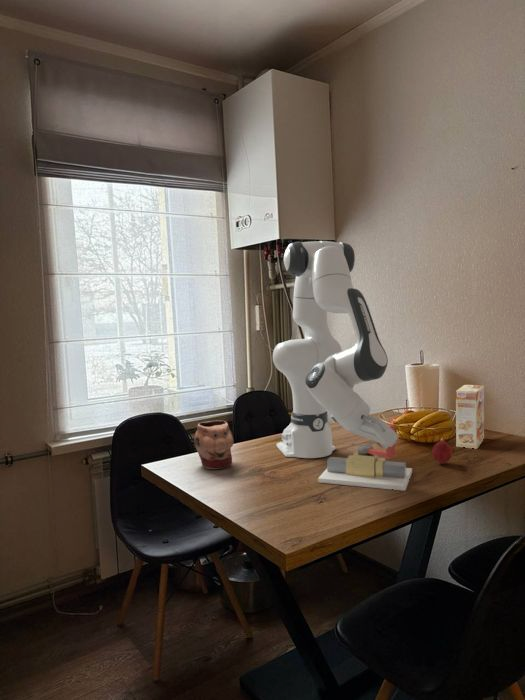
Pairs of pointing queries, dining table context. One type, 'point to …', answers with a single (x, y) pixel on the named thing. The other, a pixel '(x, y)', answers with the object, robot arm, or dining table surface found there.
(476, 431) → the coffeecake box
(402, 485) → the mounting board
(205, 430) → the decorative planter
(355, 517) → the dining table surface
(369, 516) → the dining table surface
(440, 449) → the onion
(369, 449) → the lever
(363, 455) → the valve and pipe
